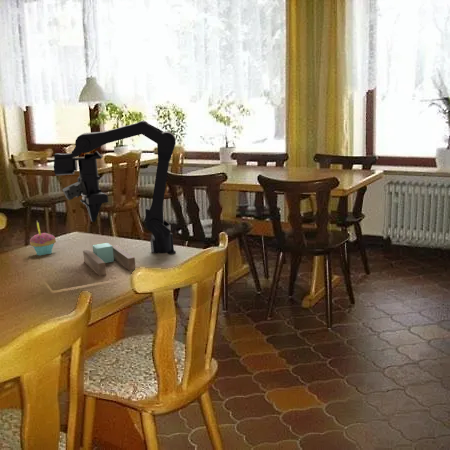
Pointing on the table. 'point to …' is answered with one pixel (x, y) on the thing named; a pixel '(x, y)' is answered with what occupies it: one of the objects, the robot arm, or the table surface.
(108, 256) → the teal block
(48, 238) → the cupcake
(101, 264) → the chute
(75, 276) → the table surface
